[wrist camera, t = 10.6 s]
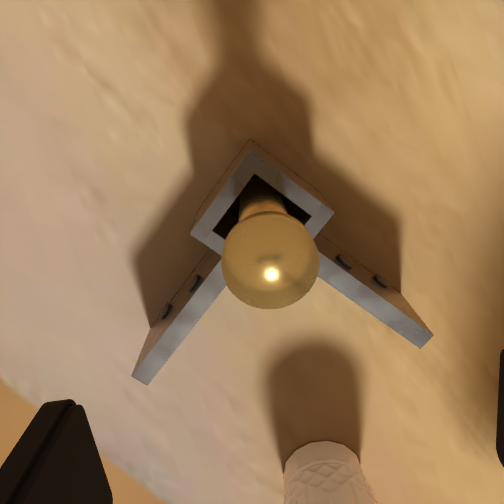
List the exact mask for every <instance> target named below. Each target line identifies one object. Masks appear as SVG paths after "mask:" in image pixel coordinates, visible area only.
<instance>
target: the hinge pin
mask: <svg viewBox="0 0 504 504" xmlns="http://www.w3.org/2000/svg"><path fill="white" fill-rule="evenodd" d="M221 269H222V274H223V278H224V280H225V283H226V285H227V286H228V288H229V289H230V291H231V292H232V293H233V294H234V295H235V296H236V297H237V298H238V299H240V300H241V301H243V302H244V303H246V304H248V305H251V306H253V307H257V308H262V309H277V308H282V307H285V306H289V305H291V304H293V303H295V302H296V301H298V300H300V299H301V298H302V297H303V296H304V295H305V294H306V293H307V292H308V291H309V290H310V289H311V287H312V286H313V284H314V282H315V280H316V278H317V275H318V271H319V254H318V250H317V247H316V244H315V242H314V240H313V238H312V236H311V234H310V233H309V231H308V230H307V228H306V227H305V226H304V225H303V224H302V223H301V222H300V221H299V220H297V219H296V218H294V217H292V216H290V215H288V213H287V211H286V208H285V206H284V203H283V201H282V198H281V195H280V193H279V191H277V190H276V189H275V188H273V187H272V186H271V185H269V184H268V183H267V182H265V181H264V180H263V179H254V180H252V181H250V182H248V183H247V184H246V186H245V187H244V188H243V190H242V191H241V193H240V199H239V218H238V223H237V224H236V225H235V226H234V227H233V228H232V229H231V231H230V232H229V234H228V236H227V238H226V240H225V243H224V246H223V252H222V258H221Z"/></svg>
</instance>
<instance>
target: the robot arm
mask: <svg viewBox="0 0 504 504" xmlns="http://www.w3.org/2000/svg"><path fill="white" fill-rule="evenodd" d="M496 450H497V454H498V457H499V460H500V462H501V464H502V465H503V467H504V349H503V350H502V351H501V354H500V371H499V393H498V414H497V435H496ZM0 504H113V498H112V492H111V489H110V486H109V483H108V480H107V477H106V474H105V471H104V468H103V465H102V462H101V459H100V456H99V453H98V450H97V447H96V444H95V441H94V438H93V435H92V432H91V429H90V426H89V423H88V420H87V417H86V413H85V410H84V408H83V406H82V405H76V403H75V402H74V401H73V400H71V399H67V400H60V401H52V402H46V403H44V404H43V405H42V406H41V408H40V409H39V411H38V412H37V414H36V415H35V417H34V418H33V420H32V421H31V423H30V424H29V426H28V427H27V429H26V430H25V432H24V433H23V435H22V436H21V438H20V439H19V441H18V442H17V444H16V445H15V447H14V448H13V450H12V452H11V453H10V454H9V456H8V457H7V459H6V460H5V462H4V463H3V465H2V466H1V468H0Z"/></svg>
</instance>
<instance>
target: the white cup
mask: <svg viewBox="0 0 504 504" xmlns="http://www.w3.org/2000/svg"><path fill="white" fill-rule="evenodd" d="M283 478H284V504H377V501H376V499H375V497H374V495H373V493H372V490H371V487H370V485H369V484H368V483H367V481H366V478H365V476H364V474H363V472H362V469H361V466H360V463H359V461H358V458H357V455H356V454H355V453H353V452H352V451H351V450H350V449H349V448H347V447H346V446H345V445H343V444H339V443H335V442H331V441H320V442H312V443H309V444H307V445H305V446H303V447H301V448H299V449H297V450H295V451H294V453H293V454H292V455H291V456H290V458H289V459H288V460H287V461H286V463H285V470H284V476H283Z"/></svg>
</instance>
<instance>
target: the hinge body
mask: <svg viewBox="0 0 504 504" xmlns="http://www.w3.org/2000/svg"><path fill="white" fill-rule="evenodd" d="M254 173H255V174H256V175H257V176H259V177H260V178H261V179H263V180H264V181H265V182H267V183H268V184H269V185H271V186H272V187H273V188H275V189H276V190H277V191H279V192H280V193H282V194H283V195H284V196H286V197H287V198H288V199H290V200H291V201H292V203H291V205H290V206H289V207H288V208H287V210H286V211H287V213H288V215H290V216H292V217H294V218H296V219H297V220H299V221H300V222H301V223H302V224H303V225H304V226H305V227H306V228H307V230H308V231H309V233H310V234H311V236H312V238H313V240H314V242H315V244H316V247H317V250H318V254H319V271H318V275H317V276H318V277H320V278H321V279H323V280H324V281H325V282H327V283H328V284H330V285H331V286H332V287H334V288H335V289H337V290H338V291H339V292H341V293H342V294H344V295H345V296H346V297H348V298H349V299H351V300H352V301H354V302H355V303H356V304H358V305H359V306H361V307H362V308H363V309H365V310H366V311H368V312H369V313H370V314H372V315H373V316H375V317H376V318H378V319H379V320H380V321H382V322H383V323H385V324H386V325H387V326H389V327H390V328H392V329H393V330H394V331H396V332H397V333H399V334H400V335H401V336H403V337H404V338H406V339H407V340H409V341H410V342H411V343H413V344H414V345H416V346H417V347H418V348H420V349H421V348H422V347H423V346H424V345H425V344H426V343H427V342H428V341H429V340H430V339H431V338H432V337H433V336H434V335H433V334H432V332H431V331H430V330H429V329H428V327H427V326H426V325H425V323H424V322H423V321H422V320H421V318H420V317H419V316H418V315H417V313H416V312H415V311H414V309H413V308H412V307H411V306H410V304H409V303H408V302H407V301H406V299H405V298H404V297H403V296H402V294H401V293H399V292H398V291H397V290H395V289H394V288H393V287H391V286H390V285H389V284H388V283H387V282H386V281H385V280H384V279H383V278H382V277H381V276H379V275H378V274H374V273H372V272H371V271H369V270H368V269H367V268H365V267H364V266H363V265H361V264H360V263H359V262H357V261H356V260H355V259H353V258H352V257H350V256H349V255H348V254H346V253H345V252H344V251H342V250H341V249H340V248H338V247H337V246H336V245H334V244H333V243H331V242H330V241H329V240H327V239H326V238H325V237H323V236H322V235H321V234H319V231H320V230H321V229H322V228H323V227H324V225H325V224H326V223H327V222H328V221H329V219H330V218H331V217H332V216H333V214H334V211H333V210H332V209H331V207H330V206H329V205H328V203H327V202H326V201H325V200H324V198H323V197H322V196H321V194H320V193H319V192H318V191H317V190H316V189H315V188H314V187H312V186H311V185H310V184H308V183H307V182H306V181H304V180H303V179H302V178H300V177H299V176H298V175H297V174H295V173H294V172H293V171H291V170H290V169H289V168H287V167H286V166H285V165H283V164H282V163H281V162H279V161H278V160H277V159H276V158H274V157H273V156H272V155H270V154H269V153H268V152H266V151H265V150H264V149H262V148H261V147H260V146H259V145H257V144H256V143H255V142H253V141H252V140H251V139H249V140H248V142H247V143H246V145H245V146H244V147H243V149H242V150H241V151H240V153H239V154H238V156H237V157H236V158H235V160H234V161H233V163H232V164H231V165H230V167H229V168H228V169H227V171H226V172H225V174H224V175H223V176H222V178H221V179H220V181H219V182H218V183H217V185H216V186H215V187H214V189H213V190H212V192H211V193H210V194H209V196H208V197H207V199H206V200H205V201H204V203H203V204H202V205H201V207H200V208H199V211H198V213H197V216H196V219H195V221H194V224H193V226H192V229H191V231H190V235H192V236H193V237H195V238H196V239H198V240H199V241H200V242H202V243H203V244H205V245H206V246H208V247H209V248H211V249H210V250H209V251H208V253H207V254H206V255H205V257H204V258H203V259H202V261H201V262H200V263H199V265H198V266H197V267H196V268H195V270H194V271H193V272H192V274H191V275H190V276H189V278H188V279H187V280H186V282H185V283H184V284H183V286H182V287H181V288H180V290H179V291H178V292H177V294H176V295H175V296H174V298H173V299H172V300H171V302H170V303H167V304H166V305H165V307H164V308H163V310H162V311H161V313H160V315H159V318H158V319H157V320H156V322H155V323H154V324H153V326H152V327H151V328H150V330H149V333H148V335H147V338H146V340H145V343H144V345H143V348H142V350H141V353H140V355H139V358H138V360H137V363H136V365H135V368H134V370H133V373H132V375H131V376H132V377H133V378H135V379H137V380H139V381H140V382H142V383H144V384H145V385H148V384H149V383H150V382H151V380H152V379H153V378H154V376H155V375H156V374H157V373H158V371H159V370H160V369H161V368H162V366H163V365H164V364H165V363H166V361H167V360H168V359H169V357H170V356H171V355H172V354H173V352H174V351H175V350H176V349H177V347H178V346H179V345H180V344H181V342H182V341H183V340H184V338H185V337H186V336H187V335H188V333H189V332H190V331H191V330H192V328H193V327H194V326H195V324H196V323H197V322H198V321H199V319H200V318H201V317H202V316H203V314H204V313H205V312H206V311H207V309H208V308H209V307H210V305H211V304H212V303H213V302H214V300H215V299H216V298H217V297H218V295H219V294H220V293H221V291H222V290H223V289H224V288H225V286H226V283H225V280H224V278H223V274H222V269H221V258H222V252H223V246H224V243H225V240H226V238H227V236H228V234H229V232H230V231H231V229H232V228H233V227H234V226H235V225H236V224H237V223H238V219H236V218H235V217H233V216H232V215H231V214H229V213H228V212H226V211H227V210H228V208H229V207H230V206H231V204H232V203H233V202H234V200H235V199H236V198H237V196H238V195H239V194H240V192H241V191H242V190H243V188H244V187H245V186H246V184H247V183H248V182H249V180H250V179H251V178H252V176H253V175H254Z"/></svg>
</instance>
